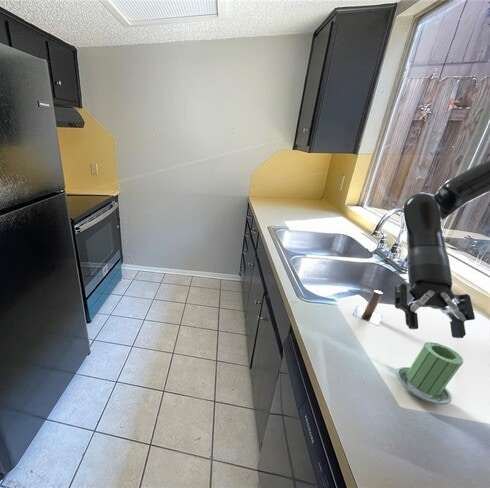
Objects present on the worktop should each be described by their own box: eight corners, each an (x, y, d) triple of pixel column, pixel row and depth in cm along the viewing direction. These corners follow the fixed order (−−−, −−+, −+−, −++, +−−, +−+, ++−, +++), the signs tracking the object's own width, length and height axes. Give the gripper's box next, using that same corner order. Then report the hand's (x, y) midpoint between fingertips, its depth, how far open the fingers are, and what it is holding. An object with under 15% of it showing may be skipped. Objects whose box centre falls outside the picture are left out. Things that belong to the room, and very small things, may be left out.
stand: (380, 319, 85) (393, 292, 81) (376, 329, 80) (390, 301, 76) (355, 309, 89) (366, 283, 85) (350, 318, 85) (362, 291, 80)
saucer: (435, 382, 64) (439, 375, 63) (455, 418, 56) (461, 411, 55) (387, 367, 67) (391, 360, 66) (400, 398, 59) (404, 391, 58)
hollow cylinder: (440, 383, 61) (462, 352, 57) (440, 400, 57) (464, 368, 53) (407, 368, 64) (425, 337, 60) (405, 382, 61) (424, 351, 56)
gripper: (404, 257, 63) (410, 325, 58) (477, 268, 60) (490, 340, 54) (386, 266, 70) (389, 327, 65) (450, 276, 67) (459, 341, 61)
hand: (435, 333), depth 60 cm, fingers open, 8 cm apart
